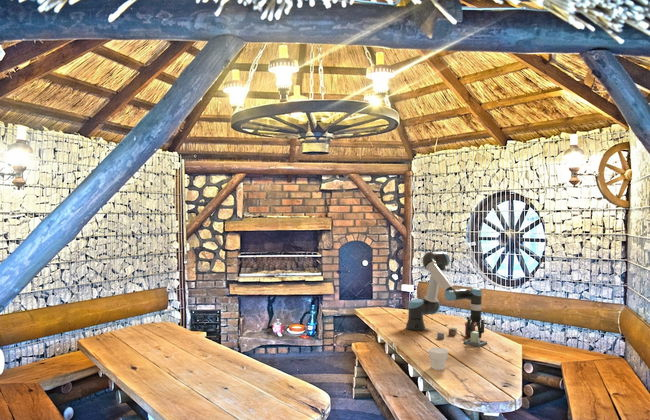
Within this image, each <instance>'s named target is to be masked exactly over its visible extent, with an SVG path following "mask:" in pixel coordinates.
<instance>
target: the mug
mask: <svg viewBox="0 0 650 420" xmlns="http://www.w3.org/2000/svg"><path fill="white" fill-rule="evenodd" d="M464 325H465V327H464V329H465V331H464V333H465V334H464V335H465V336H466V338H470V337H471V336H470V331H469V330H467V321H465V322H464ZM470 326H471V324H470ZM476 327H477V324H476V323H474V327H473V331H476V332H478V330H476Z"/></svg>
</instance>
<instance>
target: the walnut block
mask: <svg viewBox="0 0 650 420" xmlns="http://www.w3.org/2000/svg"><path fill="white" fill-rule="evenodd" d="M457 330H458V329H457V327H448V336H451V335H452V337H456V336H457ZM455 335H456V336H455Z"/></svg>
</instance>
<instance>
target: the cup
mask: <svg viewBox="0 0 650 420" xmlns="http://www.w3.org/2000/svg"><path fill="white" fill-rule="evenodd" d="M448 357H449V349H447V348H444V347H437V346H436V347H434V346H433V347H429V348H428V358H429V360H430V365H431V367H430V368H431V369H433V370H435V371H436V370H437V371H443V370H445V369H446V363H447V359H448Z"/></svg>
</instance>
